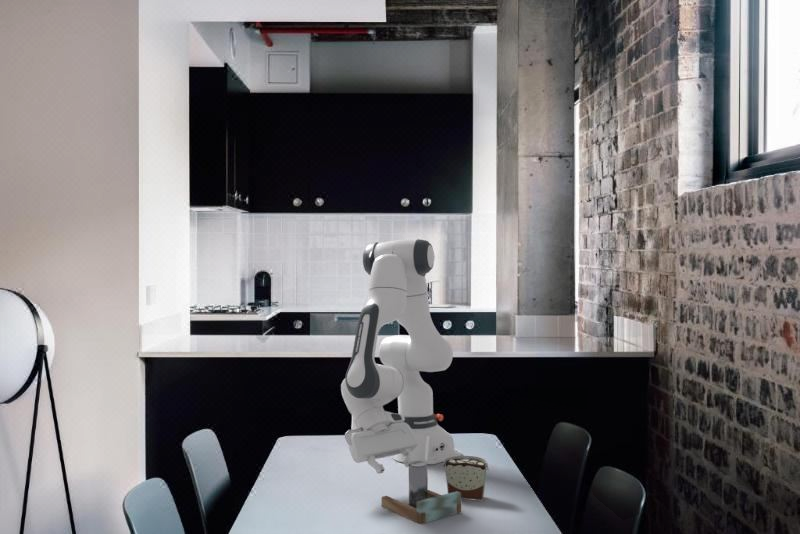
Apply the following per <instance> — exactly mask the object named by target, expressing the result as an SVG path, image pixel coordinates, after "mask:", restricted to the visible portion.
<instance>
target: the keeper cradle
mask: <svg viewBox="0 0 800 534" xmlns="http://www.w3.org/2000/svg"><path fill="white" fill-rule="evenodd" d="M381 507H382V508H384V509H386V510H388V511H391V512H394V513H396V514H397V515H400V516H402V517H404V518H406V519H408V520H411V521H413V522H415V523H418V524H420V525H422V524H426V523H430V522H432V521H435V520H441V519H444V518H447V517H451V516H454V515H458V514H461V513H462V499H461V492H458V491H456V492H452V493H448V492H447V493H445V494H439V493H437V492H435V491H432V490H430V489H428V499H425V500H421V501H417V508H414V507H412V506H409V504H408V503H405V502H402V501H400V500H398V499H395V498H393V497H390V496H388V495H383V496H381ZM460 512H461V513H460ZM457 513H458V514H457Z"/></svg>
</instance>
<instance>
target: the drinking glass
mask: <svg viewBox="0 0 800 534" xmlns="http://www.w3.org/2000/svg"><path fill="white" fill-rule="evenodd" d="M428 468H429V467H428V464H426V462H424V461H413V462H410V464H409V467H408V505H409V506H412V507H414V508H417V501H421V500H425V499H428V490H429V489H428V487H429V486H428V485H429V482H428V481H429V480H428Z"/></svg>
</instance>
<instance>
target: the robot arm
mask: <svg viewBox="0 0 800 534" xmlns="http://www.w3.org/2000/svg"><path fill="white" fill-rule="evenodd" d="M435 258H436V257H435V251H434V248H433V245H432V243H430V242H429V240H426V239H419V238H418V239H396V240H388V241H383V242H374V243H373V242H372V243H370V244H368V245H367V246H366V247H365V248H364V250H363V253H362V265H363V269H364V271H365V273H367V274H368V275H369V280H368V281H369V283H368V292H367V293H368V294H367V295H368V296H367V299H366V300H367V301H366V303H365V306H364V307H363V308H362V309H361V312H360V313H359V317H358V320H357V321H358V322H357V325H356V332H355V338H354V342H353V347H352V354H351V358H350V362H349V363H348V364H349V365H348V368H347V370H346V373H345V378H344V379H343V380H342V382H341V384H340V391H341V396H342V399H343V401H344V403H345V405H346V408H347V410H348V412H349V413H350V414H351V416H352V415H353V417H354V422H355V425H356V426H357V429H354V430H351V429H348V430H346V432H345V433H344V439H345V442H346V443H347V446H348V449H349V452H350V456H351V458H352V460H353V461H354V462H355V463H358V464H359V463H363V462H367V464H368V465H370V467H371V468H373V469H374V470H375V472H376V474H378V475H379V474H383V473H384V472H385V467H384V465H383V463H379V462H378V461H377V460H378V459H382V458H386V457H391V456H393V457H392V459H393V460H395V461H396V462H399V463H403V465H404V466H405V468H409V464H410V462H413V461H424V462H426V464H427V465H436V464H440V463H444V461H445V459H446V458H449V457H454V456H463V454H462V451H461V450H459V449H457V448H455V442H454V438H453V435H451V433H449V432H447V431H446V430H445V429H444V428H443V427H442V426H440V425H439V424H438V421H439V422H442V421H443V420H444V415H443V414H440V413H437V414H435V413H434V397H433V396H434V395H433V394H434V393H433V389H432V387H431V386H430V384H428V383H427V382H425V381H424V380H423V378H422V376H421V374H420V372H426V373H434V372H442V371H446V370H447V369H448V368H449V367H450V366H451V364H452V361H453V358H454V353H453V352H454V351H453V349H452V346H451V344H450V342H449V341H448V340H447V339H445V338H444V337H443V336H442V335H441V334H440V332H439V331H438V330H437V328H436V326H435V325H434V322H433V320H432V316H431V312H430V306H429V296H428V294H429V293H428V286H427V280H426V275H427V274H429V273H430V272H431V271H432V269H433V267H434V264H435ZM393 322H397V323H398V324H399V325H401V326H402V327H403V328H404V329H405V330H406V332H407V333H408V335H407V334H398V335H397V334H395V335H390V336H386V337H385V338H383V340H381V342H380V344H379V347H378V357H379V360H380V362H381V363H382V364H379V363H376V360H375V355H376V349H377V342H378V338H379V337H378V336H379V332H380V330H381V328H382V327H383V326H384V325H386V324H387V325H388V324H390V323H393ZM395 399H397V407H398V408H397V411H398V413H394V412H391V411H387V410H385V409H384V406H385V405H387V404H389V403H390V402H391V403H392V401H394V400H395Z"/></svg>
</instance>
